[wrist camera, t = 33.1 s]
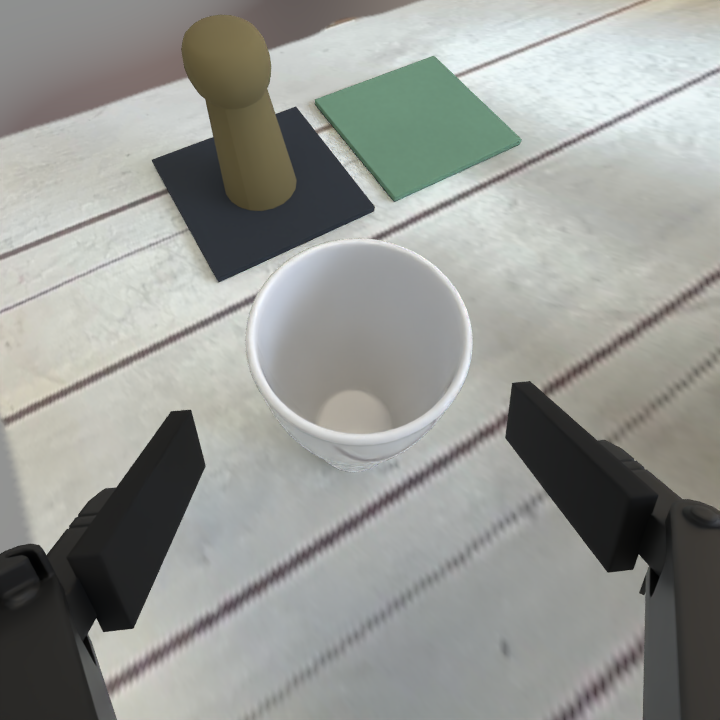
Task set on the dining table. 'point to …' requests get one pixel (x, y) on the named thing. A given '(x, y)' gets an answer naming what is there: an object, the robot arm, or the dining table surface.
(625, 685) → the dining table surface
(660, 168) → the dining table surface
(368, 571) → the dining table surface
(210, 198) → the slate mat
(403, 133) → the sage mat
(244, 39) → the olive game pawn
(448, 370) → the drinking glass
